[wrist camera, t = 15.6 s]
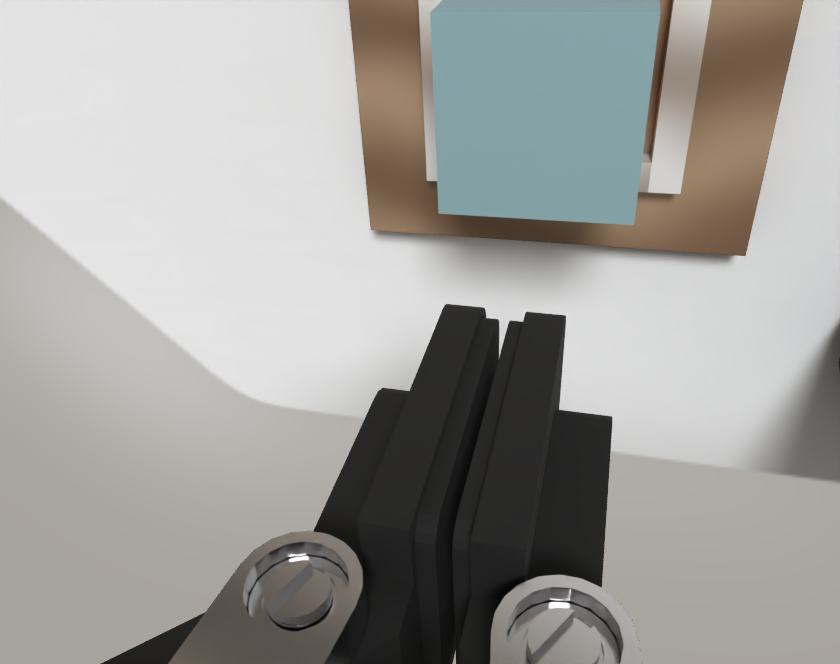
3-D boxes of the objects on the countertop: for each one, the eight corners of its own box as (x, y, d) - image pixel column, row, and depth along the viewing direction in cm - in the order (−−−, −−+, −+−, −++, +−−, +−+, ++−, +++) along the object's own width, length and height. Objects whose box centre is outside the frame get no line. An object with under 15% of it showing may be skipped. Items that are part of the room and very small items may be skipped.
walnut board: (343, -201, 26) (318, -201, 24) (845, -234, 23) (865, -237, 21) (380, 215, 35) (364, 240, 33) (741, 238, 32) (748, 267, 30)
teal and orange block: (480, -39, 27) (429, 12, 20) (656, -42, 25) (660, 11, 19) (481, 125, 30) (438, 213, 24) (636, 131, 29) (633, 225, 22)
